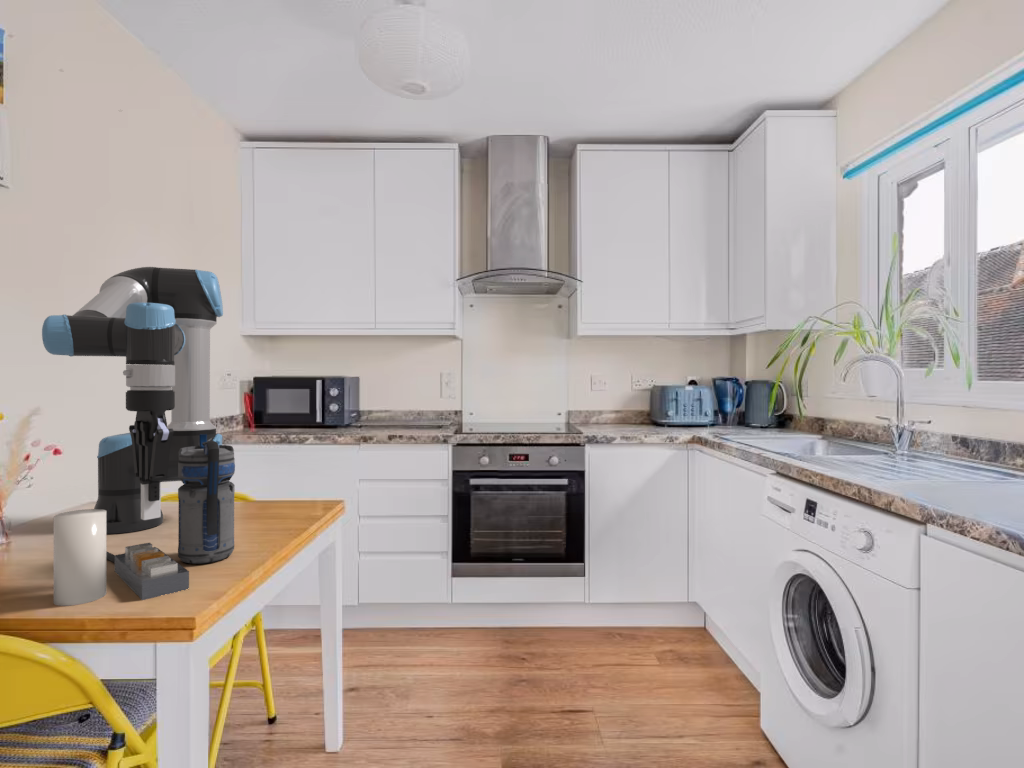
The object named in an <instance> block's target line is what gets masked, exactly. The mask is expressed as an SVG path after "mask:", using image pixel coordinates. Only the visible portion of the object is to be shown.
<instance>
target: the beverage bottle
mask: <svg viewBox="0 0 1024 768" xmlns="http://www.w3.org/2000/svg"><path fill="white" fill-rule="evenodd" d="M234 451H235V450H234V448H233V445H225V444H222V445H218V443H217V442H215V441H207V434H199V446H191V447H184V448H181V449H180V450H179V461H178V477H179V479H180V480H181V481H180V482H181V483H182V485H180V486H179V488H178V487H177V488H178V489H177V499H178V535H177V536H178V538H177V539H178V544H177V545H178V546H177V556H178V558H179V560H180V562H183V563H186V564H187V563H188V564H192V565H198V564H199V565H202V564H203V565H204V564H211V563H215V562H219V561H222V560H224V559H225V558H228V557H230V556H231V555H232V554H233V552H234V550H235V490H236V489H235V484H234V482H232V481H231V479H232V477H233V476H234V474H235V471H236V463H235V461H236V459H235V452H234Z"/></svg>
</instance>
